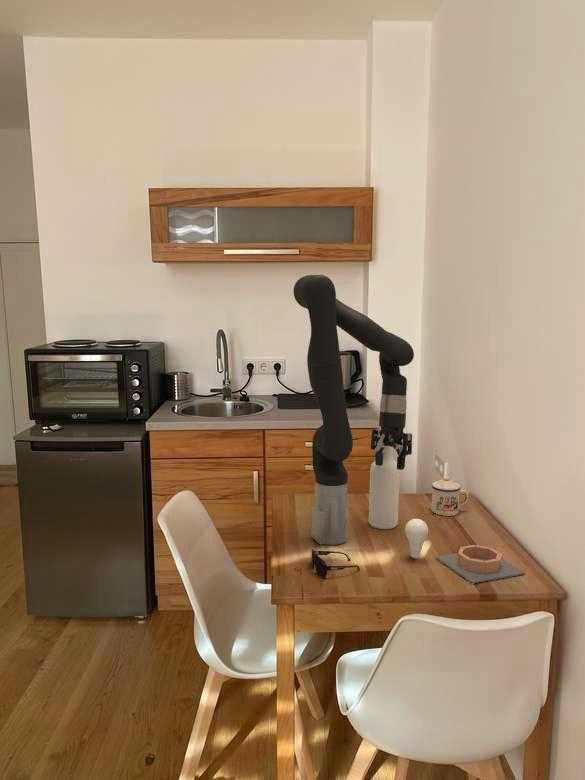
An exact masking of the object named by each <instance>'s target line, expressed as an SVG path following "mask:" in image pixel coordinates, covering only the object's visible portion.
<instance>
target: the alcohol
mask: <svg viewBox="0 0 585 780" xmlns="http://www.w3.org/2000/svg"><path fill="white" fill-rule="evenodd" d="M380 430H381V428H380ZM380 438H381V437H380ZM382 453H383V465H382V466H377V465H376V463H375V460H374V461H373V462H372V463H371V465H370V470H369V499H368V500H369V501H368V502H369V504H368V524H369V525H370V526H371V528H374V529H377V530H391V529H395V528H396V526H397V525H398V522H399V498H400V497H399V496H400V493H399V492H400V471H401V470H398V469H397V460H395V457H394V448H393V447H390V446H388V447H386V448H385V449H384V451H383V452H382Z"/></svg>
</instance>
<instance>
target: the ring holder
mask: <svg viewBox="0 0 585 780" xmlns="http://www.w3.org/2000/svg"><path fill="white" fill-rule="evenodd" d="M502 555H503V554H502V553H501V552H499V551H497V549H494V548H493V547H489V546H483V545H478V544H477V545H476V544H472V545H466V546H460V548H459V550H458V553H456V552H455V553H450V554H449V553H448V554H444V555H439V556H438V555H437V556H435V560H436V559H437V561H438V560H439V561H440V563H441V562H442V563H443V564H442V563H441V564H442V565H444V564H445V565H446V566H445V565H444V566H445V567H447V566H448V567H449V568H450V569H449V568H448V567H447V568H448V569H449V570H451V569H452V570H453V571H452V570H451V571H452V572H454V571H455V572H456V573H455V572H454V573H455V574H457V573H458V574H459V575H461V576H462V577H464V578H465V579H467V580H468V581H470V582H471V583H478V584H480V583H479V582H483V583H485V582H484V581H489V582H491V581H490V580H494V581H498V580H497V579H499V580H503V579H502V578H505V579H509V578H508V577H510V578H514V577H513V576H516V577H519V576H518V575H521V576H524V575H523V574H525V575H526V572H525V571H523V569H522V570H521V569H520V568H519V567H516V566H515V565H513V564H512V563H510V562H508V561H506V560H505V559H503V558H502ZM439 561H438V562H439ZM458 574H457V575H458ZM459 575H458V576H459ZM461 576H460V577H461ZM462 577H461V578H462ZM464 578H463V579H464ZM465 579H464V580H465ZM467 580H466V581H467ZM468 581H467V582H468ZM471 583H470V584H471Z"/></svg>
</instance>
